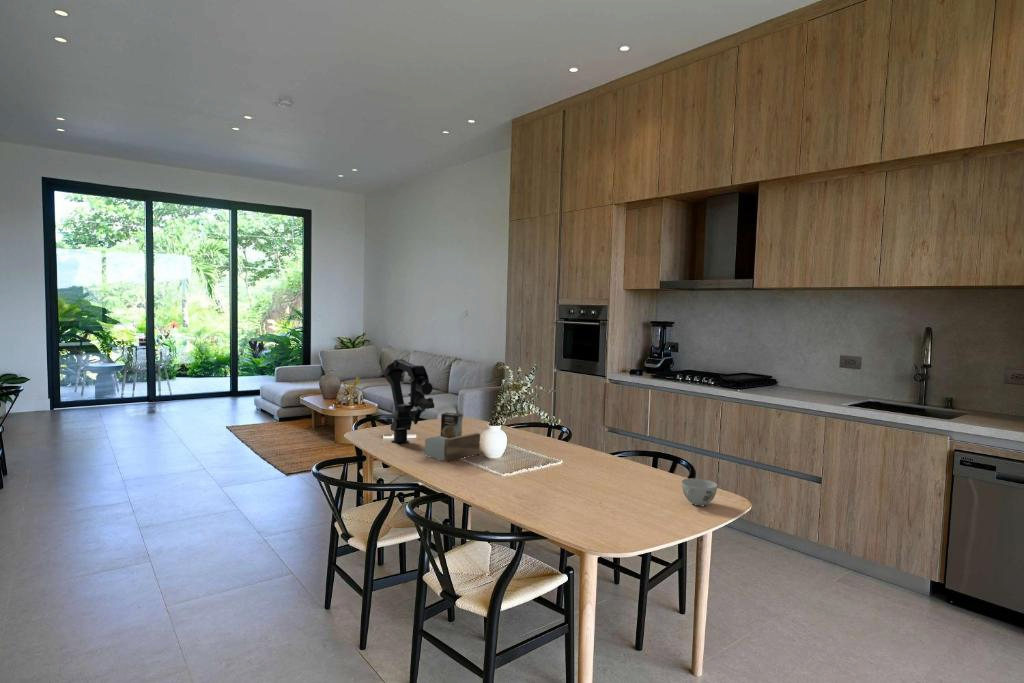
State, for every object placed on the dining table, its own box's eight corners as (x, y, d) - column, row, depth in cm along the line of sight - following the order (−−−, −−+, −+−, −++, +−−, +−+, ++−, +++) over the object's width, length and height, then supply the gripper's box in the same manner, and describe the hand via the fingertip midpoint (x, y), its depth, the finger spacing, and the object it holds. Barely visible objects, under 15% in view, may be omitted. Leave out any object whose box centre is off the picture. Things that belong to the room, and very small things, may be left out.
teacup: (691, 496, 215) (692, 475, 214) (722, 505, 205) (724, 483, 205) (670, 504, 204) (671, 482, 204) (702, 514, 195) (703, 491, 195)
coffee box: (439, 446, 276) (440, 414, 275) (444, 443, 282) (446, 411, 281) (456, 448, 274) (457, 415, 273) (461, 445, 280) (462, 413, 279)
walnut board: (443, 461, 250) (444, 439, 249) (475, 453, 265) (476, 432, 264) (447, 462, 248) (448, 440, 247) (479, 454, 263) (480, 433, 263)
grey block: (424, 456, 258) (425, 438, 258) (439, 452, 265) (439, 436, 265) (444, 461, 250) (444, 444, 249) (458, 458, 257) (459, 441, 256)
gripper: (412, 395, 256) (411, 429, 257) (442, 392, 270) (441, 424, 271) (396, 392, 263) (395, 425, 264) (427, 389, 277) (426, 420, 278)
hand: (415, 424), depth 269 cm, fingers closed
